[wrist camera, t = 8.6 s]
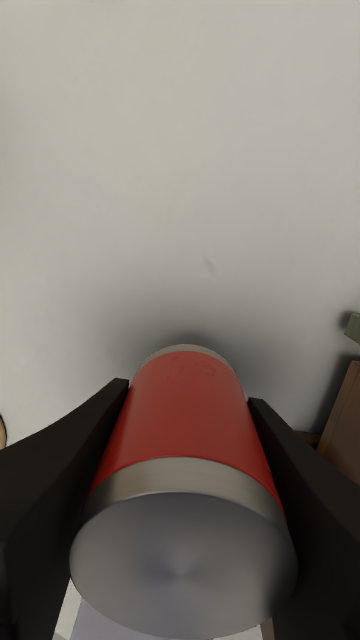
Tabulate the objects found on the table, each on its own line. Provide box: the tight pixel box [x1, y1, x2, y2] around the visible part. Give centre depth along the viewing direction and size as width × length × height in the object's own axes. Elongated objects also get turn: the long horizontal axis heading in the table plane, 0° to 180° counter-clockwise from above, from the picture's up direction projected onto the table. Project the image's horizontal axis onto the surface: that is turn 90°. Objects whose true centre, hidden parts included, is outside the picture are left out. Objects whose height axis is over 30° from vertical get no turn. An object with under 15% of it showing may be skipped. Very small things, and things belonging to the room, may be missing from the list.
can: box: [68, 344, 298, 640], centre depth 9 cm, size 5×5×7 cm
